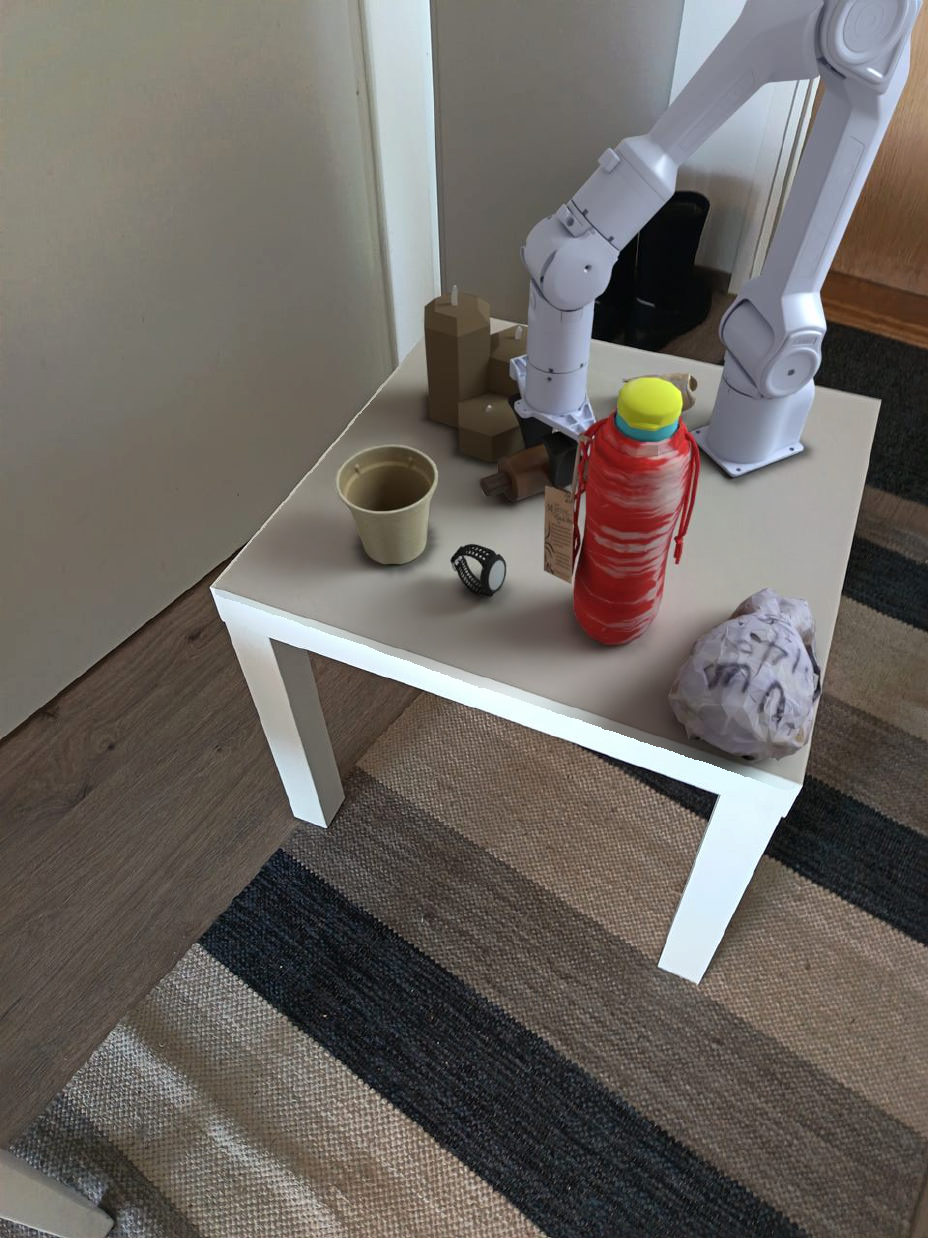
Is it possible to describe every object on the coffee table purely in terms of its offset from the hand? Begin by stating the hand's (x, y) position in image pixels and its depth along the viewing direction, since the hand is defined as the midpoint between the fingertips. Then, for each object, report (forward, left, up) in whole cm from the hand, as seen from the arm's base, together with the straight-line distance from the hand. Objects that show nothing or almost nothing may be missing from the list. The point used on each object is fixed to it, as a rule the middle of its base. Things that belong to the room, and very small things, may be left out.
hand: (549, 469), depth 89 cm
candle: (+1, -13, -2) cm, 13 cm away
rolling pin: (0, 0, +1) cm, 1 cm away
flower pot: (+18, +1, -2) cm, 18 cm away
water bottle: (+5, +18, -2) cm, 19 cm away
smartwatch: (+13, +10, -2) cm, 16 cm away
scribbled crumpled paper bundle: (-1, +32, -2) cm, 32 cm away
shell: (-17, -5, -2) cm, 18 cm away
